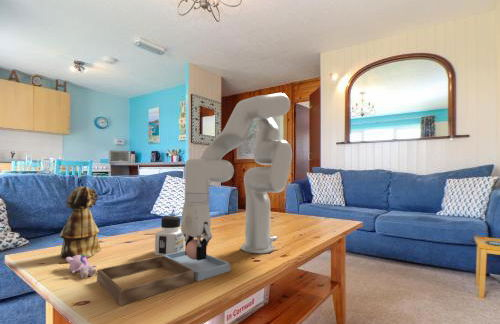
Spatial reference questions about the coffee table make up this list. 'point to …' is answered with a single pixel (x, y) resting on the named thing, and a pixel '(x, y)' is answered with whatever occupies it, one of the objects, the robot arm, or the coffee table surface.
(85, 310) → the coffee table surface
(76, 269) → the pink plastic figure
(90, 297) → the coffee table surface
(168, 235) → the container
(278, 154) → the robot arm
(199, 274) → the tray
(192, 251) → the ball
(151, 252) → the coffee table surface
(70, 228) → the plaid cloth bag
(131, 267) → the wooden box frame
